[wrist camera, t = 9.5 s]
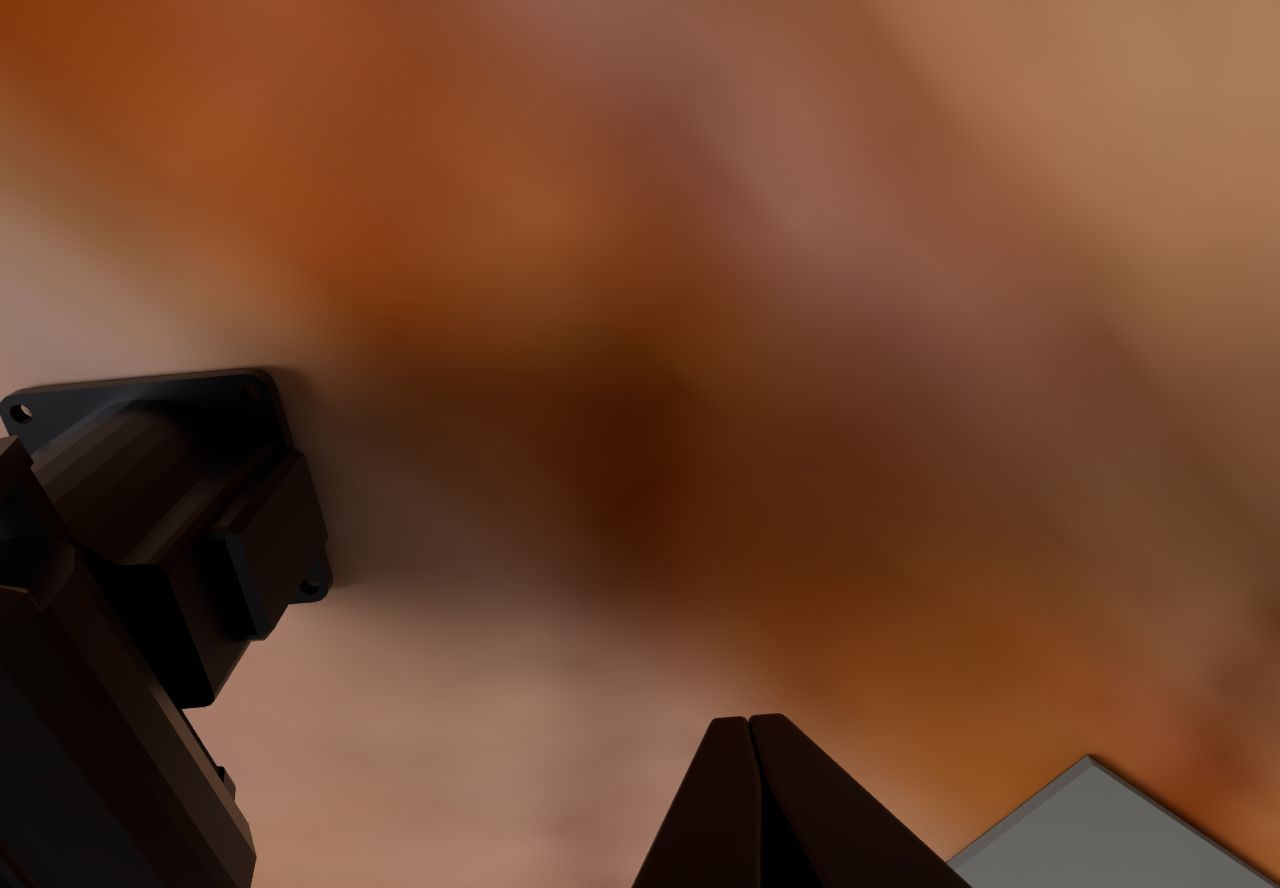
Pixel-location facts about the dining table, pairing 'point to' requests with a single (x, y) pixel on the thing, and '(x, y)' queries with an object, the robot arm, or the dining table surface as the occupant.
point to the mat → (1099, 842)
